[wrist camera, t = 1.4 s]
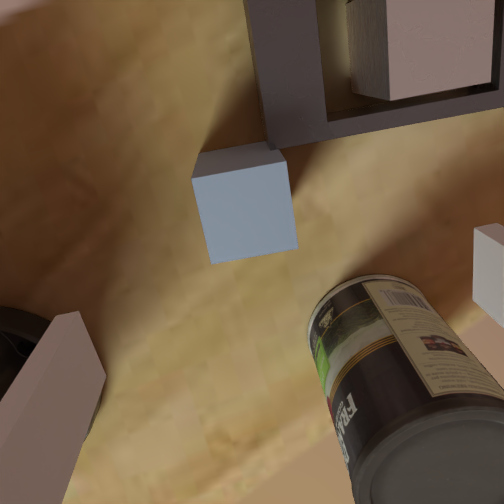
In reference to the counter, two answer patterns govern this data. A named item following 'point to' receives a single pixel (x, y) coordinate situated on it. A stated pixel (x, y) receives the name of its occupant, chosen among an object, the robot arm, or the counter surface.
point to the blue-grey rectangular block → (244, 202)
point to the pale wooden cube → (418, 46)
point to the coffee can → (407, 397)
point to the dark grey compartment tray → (312, 88)
